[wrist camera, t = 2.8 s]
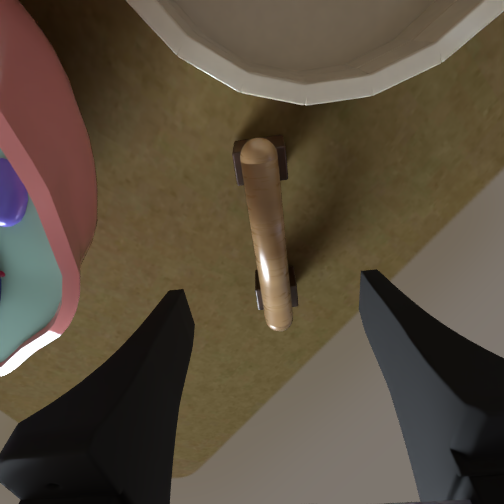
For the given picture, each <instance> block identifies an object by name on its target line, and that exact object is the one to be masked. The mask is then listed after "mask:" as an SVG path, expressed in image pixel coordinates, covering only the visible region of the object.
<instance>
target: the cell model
mask: <svg viewBox="0 0 504 504" xmlns="http://www.w3.org/2000/svg"><path fill="white" fill-rule="evenodd" d="M97 191H98V190H97V178H96V169H95V162H94V156H93V152H92V147H91V142H90V138H89V134H88V131H87V128H86V126H85V123H84V120H83V117H82V114H81V112H80V109H79V106H78V103H77V100H76V98H75V95H74V92H73V89H72V87H71V84H70V81H69V78H68V76H67V74H66V72H65V70H64V67H63V65H62V63H61V61H60V59H59V57H58V55H57V53H56V51H55V50H54V48H53V46H52V44H51V42H50V41H49V39H48V37H47V36H46V34H45V33H44V32H43V30H42V29H41V27H40V26H39V24H38V23H37V21H36V20H35V19H34V18H33V17H32V15H31V14H30V13H29V12H28V11H27V9H26V8H25V7H24V6H23V5H22V3H21V2H20V1H19V0H0V376H2V375H6V374H8V373H9V372H11V371H12V370H14V369H16V368H17V367H18V366H19V365H20V364H21V363H22V362H24V361H25V360H26V359H27V358H28V357H29V356H30V355H31V354H32V353H34V352H35V351H37V350H38V349H40V348H42V347H43V346H45V345H46V344H48V343H50V342H51V341H53V340H54V339H56V338H58V337H59V336H60V335H61V334H62V333H63V332H64V331H65V330H66V329H67V327H68V326H69V325H70V323H71V321H72V319H73V316H74V314H75V312H76V310H77V305H78V300H79V296H80V268H81V264H82V262H83V260H84V258H85V256H86V254H87V252H88V250H89V248H90V245H91V243H92V241H93V237H94V233H95V229H96V225H97Z"/></svg>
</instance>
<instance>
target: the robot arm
mask: <svg viewBox="0 0 504 504" xmlns="http://www.w3.org/2000/svg"><path fill="white" fill-rule="evenodd" d="M359 311H360V315H361V319H362V322H363V326H364V329H365V333H366V335H367V337H368V340H369V342H370V345H371V347H372V349H373V352H374V354H375V357H376V359H377V361H378V364H379V366H380V368H381V371H382V373H383V375H384V378H385V380H386V383H387V385H388V388H389V391H390V393H391V397H392V400H393V403H394V407H395V410H396V413H397V416H398V420H399V423H400V427H401V430H402V434H403V437H404V440H405V444H406V448H407V451H408V455H409V459H410V462H411V466H412V470H413V473H414V477H415V481H416V485H417V489H418V493H419V497H420V501H421V502H407V503H388V504H504V358H502V357H500V356H498V355H496V354H494V353H492V352H490V351H488V350H486V349H484V348H482V347H481V346H479V345H477V344H475V343H473V342H471V341H470V340H468V339H466V338H465V337H463V336H461V335H459V334H458V333H456V332H455V331H453V330H451V329H450V328H448V327H447V326H445V325H444V324H442V323H441V322H439V321H438V320H436V319H435V318H434V317H432V316H431V315H429V314H428V313H427V312H425V311H424V310H423V309H422V308H420V307H419V306H418V305H416V304H415V303H414V302H413V301H412V300H411V299H409V298H408V297H407V296H406V295H405V294H403V293H402V292H401V291H400V290H399V289H398V288H397V287H396V286H395V285H393V284H392V283H391V282H390V281H389V280H388V279H387V278H386V277H385V276H384V275H383V274H381V273H380V272H379V271H378V270H377V269H376V270H367V271H361V281H360V300H359ZM194 327H195V324H194V321H193V318H192V315H191V311H190V308H189V305H188V302H187V299H186V296H185V293H184V290H183V289H180V290H170V291H168V293H167V294H166V295H165V296H164V297H163V299H162V300H161V301H160V302H159V304H158V305H157V306H156V307H155V309H154V310H153V311H152V312H151V314H150V315H149V316H148V317H147V318H146V320H145V321H144V322H143V323H142V324H141V326H140V327H139V328H138V329H137V330H136V331H135V332H134V333H133V335H132V336H131V337H130V338H129V339H128V340H127V341H126V342H125V343H124V344H123V345H122V346H121V347H120V348H119V349H118V350H117V351H116V352H115V353H114V354H113V355H112V356H111V357H110V358H109V359H108V360H107V361H106V362H105V363H103V364H102V365H101V366H100V367H99V368H97V369H96V370H95V371H94V372H93V373H91V374H90V375H89V376H88V377H86V378H85V379H84V380H83V381H82V382H80V383H79V384H78V385H76V386H75V387H74V388H72V389H71V390H69V391H68V392H67V393H65V394H64V395H62V396H61V397H59V398H58V399H57V400H55V401H54V402H52V403H51V404H49V405H48V406H46V407H44V408H43V409H41V410H40V411H38V412H36V413H35V414H33V415H31V416H30V417H28V418H27V419H25V420H23V421H22V422H20V423H18V425H17V426H16V428H15V429H14V431H13V433H12V434H11V436H10V438H9V439H8V441H7V443H6V444H5V446H4V448H3V450H2V451H1V453H0V483H1V484H2V485H4V486H5V487H6V488H7V489H8V490H10V491H11V492H12V493H13V494H14V495H16V496H17V497H18V498H19V499H20V502H19V504H170V489H171V478H172V466H173V455H174V446H175V436H176V428H177V420H178V412H179V405H180V400H181V395H182V391H183V387H184V382H185V378H186V374H187V370H188V365H189V361H190V356H191V352H192V347H193V339H194Z"/></svg>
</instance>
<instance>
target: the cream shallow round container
mask: <svg viewBox="0 0 504 504" xmlns="http://www.w3.org/2000/svg"><path fill="white" fill-rule="evenodd" d="M125 1H126V2H127V3H128V4H129V5H130V6H131V7H132V8H133V9H134V10H135V12H136V13H137V14H138V15H139V16H140V17H141V18H142V19H143V20H144V21H145V22H146V23H147V24H148V25H149V27H150V28H151V29H152V30H153V31H154V32H155V33H156V34H157V35H158V36H159V37H160V38H161V39H162V40H163V42H164V43H165V44H166V45H167V46H168V47H169V48H170V49H171V50H172V51H173V52H174V53H175V54H176V55H178V57H179V58H181V59H183V60H184V61H186V62H188V63H189V64H191V65H193V66H195V67H196V68H198V69H200V70H201V71H203V72H205V73H207V74H208V75H210V76H212V77H213V78H215V79H217V80H219V81H220V82H222V83H224V84H225V85H227V86H229V87H231V88H232V89H234V90H236V91H237V92H241V93H243V94H248V95H253V96H258V97H263V98H268V99H273V100H278V101H283V102H288V103H294V104H299V105H306V106H308V105H315V104H322V103H329V102H336V101H343V100H350V99H357V98H364V97H371V96H372V95H376V94H378V93H380V92H382V91H384V90H386V89H389V88H391V87H393V86H395V85H397V84H399V83H401V82H403V81H405V80H407V79H409V78H412V77H414V76H416V75H418V74H420V73H422V72H424V71H426V70H428V69H430V68H433V67H435V66H437V65H439V64H440V63H441V62H443V61H445V60H446V59H447V58H448V57H450V56H451V55H452V54H453V53H454V52H456V51H457V50H458V49H459V48H460V47H462V46H463V45H464V44H465V43H466V42H468V41H469V40H470V39H471V38H472V37H473V36H475V35H476V34H477V33H478V32H479V31H481V30H482V29H483V28H484V27H485V26H487V25H488V24H489V23H490V22H491V21H493V20H494V19H495V18H496V17H497V16H498V15H500V14H501V13H502V12H503V11H504V0H125Z"/></svg>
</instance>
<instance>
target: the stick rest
mask: <svg viewBox="0 0 504 504" xmlns="http://www.w3.org/2000/svg"><path fill="white" fill-rule="evenodd" d="M261 138H264V139H267V140H269V141H270V142H271V143H272V144H273V145H274V146H275V148H276V150H277V154H278V164H279V174H280V180H287V179H288V171H287V159H286V147H285V143H284V139H283V136H282V135H276V136H269V137H261ZM249 140H251V139H247V140H239V141H235V143H234V148H233V153H232V156H233V162H234V168H235V174H236V179H237V184H238V186H240V185H244V180H243V174H242V168H241V161H240V153H241V150H242V148H243V146H244V145H245V144H246V143H247V142H248V141H249ZM288 269H289V280H290V290H291V301H292V307H296V306H298V295H297V284H296V278H295V272H294V267H293V266H290V267H288ZM255 292H256V297H257V303H258V309H259V310H264V307H263V301H262V295H261V288H260V282H259V276H258V270H256V271H255Z"/></svg>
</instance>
